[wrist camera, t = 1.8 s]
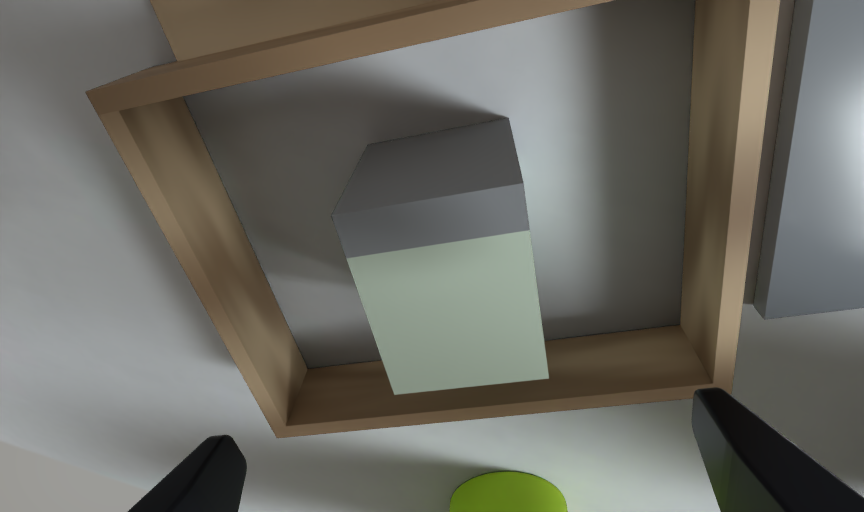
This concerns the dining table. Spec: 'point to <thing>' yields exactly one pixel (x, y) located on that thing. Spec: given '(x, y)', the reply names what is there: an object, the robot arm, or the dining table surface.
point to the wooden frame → (396, 28)
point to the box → (445, 259)
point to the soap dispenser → (507, 494)
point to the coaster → (817, 169)
